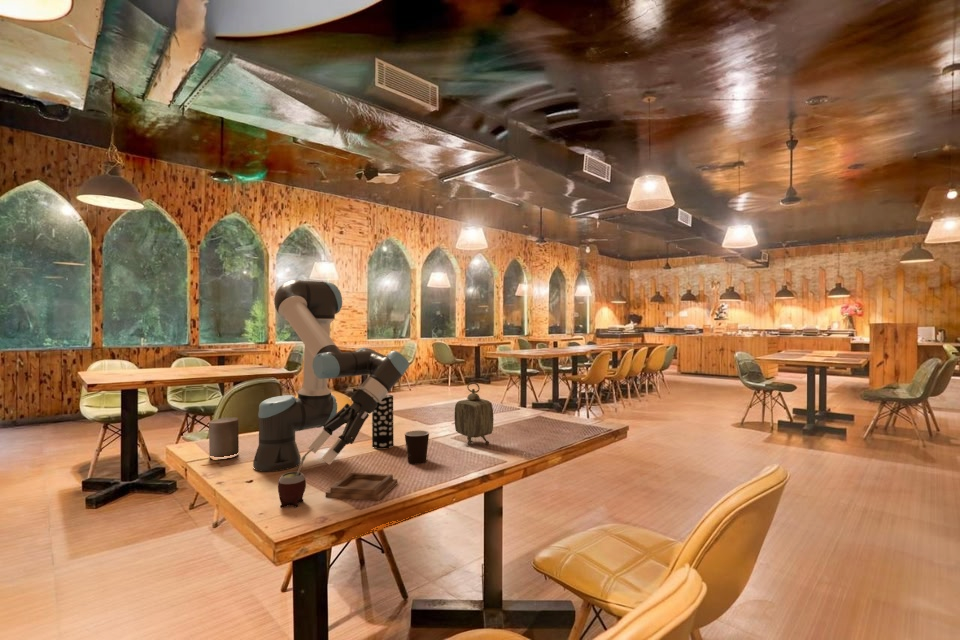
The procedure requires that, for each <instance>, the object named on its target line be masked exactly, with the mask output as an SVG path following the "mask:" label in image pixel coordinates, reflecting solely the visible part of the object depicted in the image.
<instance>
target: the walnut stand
mask: <svg viewBox="0 0 960 640" xmlns="http://www.w3.org/2000/svg"><path fill="white" fill-rule="evenodd" d="M396 483H397V484H398V479H396V478H394V475H393V474H389V473H387V474H384V473H369V472H350V473H349V474H348V475H346V476H345V477H343V478H341V479H340V480H339V481H337V482H336V483H335V484H334V485H332V486H331V487H330V488H329V490H327V491H325V498H335V499H340V498H341V499H350V498H351V499H354V500H367V501H380V500H381V499H382V498H384V497H385V496H386V495H387V494H388V493H389V492H390V491H391V490H390V489H391V488H392V487H393V486H394V485H395V484H396ZM397 484H396V485H397ZM396 485H395V486H396ZM395 486H394V487H395ZM394 487H393V488H394ZM393 488H392V489H393ZM389 490H390V491H389Z"/></svg>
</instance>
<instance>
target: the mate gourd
mask: <svg viewBox="0 0 960 640" xmlns="http://www.w3.org/2000/svg"><path fill="white" fill-rule="evenodd" d="M313 449H314V448H313ZM313 449H311V450H310V449H309V451H307V452H305V454H304V455H303V456H302V457H301V463H300V464H299V466H298V470H297V471H289V472H285V473H283V474H281V476H280V477H279V479H278V483H277V491H278V495H279V496H278V497H279V501H280V504H281V505H279V506H280V509H281V508H282V507H283V508H286V507H288V506H289V505H290V506H293V507H294V508H299V502H300V503H302V502H304V500H305V499H304V498H303V497H304V493H305V491H306V487H307V483H306V477H305V475H304V473H302V472H301V470H302V466H303V463H304V462H305V459H306V457H308V454H310V453H311V452H312V450H313ZM290 506H289V507H290Z"/></svg>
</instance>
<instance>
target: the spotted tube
mask: <svg viewBox="0 0 960 640" xmlns="http://www.w3.org/2000/svg"><path fill="white" fill-rule="evenodd" d="M385 396H386V397H385V398H383V399H382V400H381V402H377V407H376V408H375V409H374V410H373V411H372V413H371V434H372V435H371V437H372V439H371V448H372V447H374V448H373V449H375V448H388V449H390V448H389V447H391V448H393V447H394V446H393V445H394V395H392V394H386V395H385ZM392 446H393V447H392Z"/></svg>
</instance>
